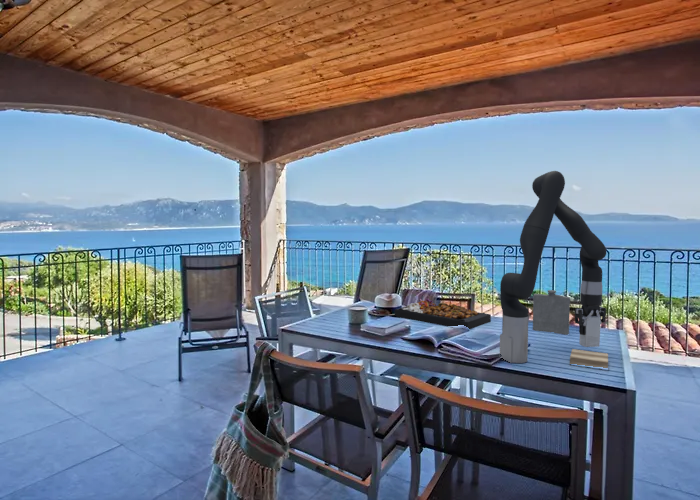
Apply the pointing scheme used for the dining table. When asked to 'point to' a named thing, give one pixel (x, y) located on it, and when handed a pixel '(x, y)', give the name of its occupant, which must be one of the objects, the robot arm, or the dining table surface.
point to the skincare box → (591, 332)
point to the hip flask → (551, 313)
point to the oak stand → (589, 358)
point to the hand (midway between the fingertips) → (589, 333)
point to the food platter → (442, 314)
